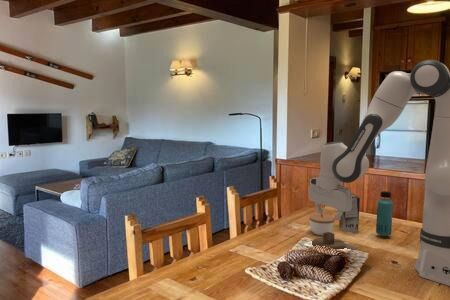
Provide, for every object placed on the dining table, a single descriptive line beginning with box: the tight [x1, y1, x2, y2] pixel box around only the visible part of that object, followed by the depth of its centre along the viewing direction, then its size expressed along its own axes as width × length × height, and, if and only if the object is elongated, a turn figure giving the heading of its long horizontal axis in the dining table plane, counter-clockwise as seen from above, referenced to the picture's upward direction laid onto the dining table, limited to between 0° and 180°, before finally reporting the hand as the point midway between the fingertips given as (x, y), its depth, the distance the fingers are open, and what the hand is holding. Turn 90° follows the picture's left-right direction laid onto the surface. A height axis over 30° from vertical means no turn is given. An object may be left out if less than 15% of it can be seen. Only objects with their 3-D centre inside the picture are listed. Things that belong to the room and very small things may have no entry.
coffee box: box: [338, 193, 361, 234], centre depth 174 cm, size 9×6×16 cm
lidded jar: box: [308, 213, 336, 237], centre depth 168 cm, size 11×11×9 cm
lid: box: [311, 232, 347, 249], centre depth 153 cm, size 13×13×5 cm
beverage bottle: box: [375, 190, 394, 237], centre depth 165 cm, size 6×7×20 cm
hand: (328, 216), depth 152 cm, fingers open, 8 cm apart
